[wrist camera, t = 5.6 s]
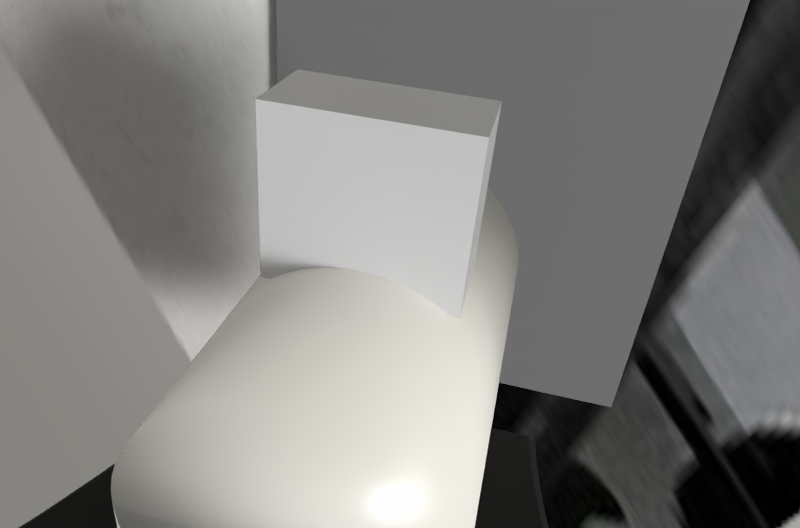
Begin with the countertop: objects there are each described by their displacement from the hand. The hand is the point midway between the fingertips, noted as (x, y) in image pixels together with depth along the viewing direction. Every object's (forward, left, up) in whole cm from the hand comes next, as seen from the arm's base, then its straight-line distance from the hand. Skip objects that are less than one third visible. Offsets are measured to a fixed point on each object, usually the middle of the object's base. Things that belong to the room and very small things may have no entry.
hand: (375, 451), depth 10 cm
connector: (0, 0, -1) cm, 1 cm away
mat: (0, 0, -9) cm, 9 cm away
